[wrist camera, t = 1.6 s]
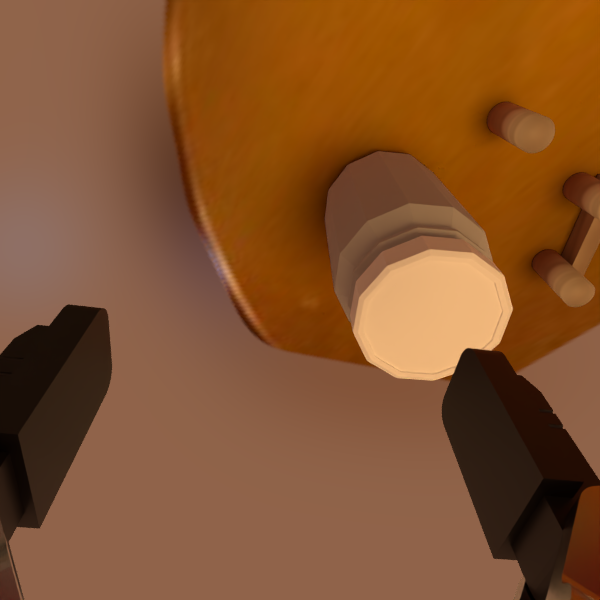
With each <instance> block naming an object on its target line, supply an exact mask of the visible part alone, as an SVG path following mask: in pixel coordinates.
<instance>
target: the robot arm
mask: <svg viewBox="0 0 600 600" xmlns="http://www.w3.org/2000/svg"><path fill="white" fill-rule="evenodd" d="M111 373H112V359H111V347H110V334H109V321H108V314H107V311H106V309H104V308H95V307H86V306H77V305H66V306H65V307H64V308H63V309H62V310H61V312H60V313H59V314H58V316H57V317H56V318H55V319H54V320H53V322H52V323H51V324H50V326H43V325H37V326H35V327H33V328H31V329H30V330H28V331H26V332H24V333H23V334H21V335H19V336H18V337H16V338H14V339H13V341H12V342H11V343H10V344H9V345H8V346H7V347H6V349H5V350H4V351H3V352H2V353H1V355H0V600H24V597H23V593H22V589H21V585H20V582H19V578H18V574H17V571H16V567H15V564H14V560H13V556H12V553H11V549H10V545H9V540H10V538H11V537H12V535H13V533H14V531H15V529H16V527H27V528H40V526H41V525H42V523H43V521H44V519H45V516H46V515H47V512H48V510H49V508H50V506H51V504H52V502H53V500H54V498H55V496H56V494H57V492H58V490H59V488H60V486H61V484H62V482H63V480H64V478H65V476H66V474H67V472H68V470H69V468H70V466H71V464H72V462H73V460H74V458H75V456H76V454H77V452H78V450H79V447H80V446H81V444H82V441H83V440H84V438H85V435H86V434H87V432H88V430H89V427H90V425H91V423H92V421H93V419H94V417H95V415H96V413H97V411H98V409H99V407H100V405H101V403H102V401H103V399H104V397H105V395H106V393H107V390H108V387H109V384H110V380H111ZM442 420H443V424H444V427H445V430H446V432H447V435H448V437H449V440H450V443H451V445H452V448H453V451H454V453H455V456H456V459H457V462H458V464H459V467H460V469H461V472H462V475H463V478H464V480H465V483H466V486H467V488H468V491H469V494H470V496H471V499H472V502H473V505H474V507H475V510H476V513H477V515H478V518H479V521H480V523H481V526H482V529H483V531H484V534H485V536H486V539H487V542H488V545H489V547H490V550H491V553H492V555H493V558H494V559H508V560H517V561H518V563H519V566H520V568H521V570H522V573H523V575H524V576H523V577H522V579H521V580H520V582H519V585H518V588H517V591H516V594H515V597H514V600H600V480H599V479H598V477H597V476H596V475H595V473H594V471H593V470H592V468H591V467H590V466H589V464H588V462H587V461H586V459H585V458H584V456H583V455H582V453H581V452H580V450H579V449H578V447H577V446H576V444H575V443H574V441H573V440H572V438H571V437H570V435H569V434H568V432H567V431H566V430H565V429H563V425H562V423H561V422H560V420H559V419H558V417H557V416H556V414H553V410H552V408H551V407H550V405H549V404H548V402H547V401H546V399H545V398H544V396H543V395H542V393H541V392H540V391H539V390H538V389H537V388H536V387H534V386H533V385H532V384H531V383H530V382H529V381H527V380H526V379H525V378H524V377H523V376H520V375H517V374H516V373H515V371H514V369H513V368H512V366H511V365H510V363H509V362H508V360H507V358H506V357H505V355H504V354H503V353H502V352H500V351H491V350H482V349H473V348H467V349H465V350H464V351H463V352H462V354H461V356H460V359H459V361H458V364H457V366H456V368H455V371H454V373H453V376H452V378H451V381H450V383H449V386H448V388H447V391H446V393H445V396H444V399H443V404H442Z"/></svg>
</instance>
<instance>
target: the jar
mask: <svg viewBox="0 0 600 600" xmlns="http://www.w3.org/2000/svg"><path fill="white" fill-rule="evenodd" d="M325 226H326V233H327V240H328V248H329V255H330V263H331V270H332V277H333V285H334V291H335V293H336V295H337V297H338V299H339V301H340V303H341V305H342V307H343V309H344V312H345V314H346V316H347V318H348V320H349V321H350V322H351V324H352V330H353V333H354V335H355V337H356V339H357V341H358V343H359V345H360V347H361V349H362V352H363V354H364V356H365V358H366V360H367V361H368V362H370V363H372V364H373V365H375V366H377V367H379V368H380V369H382V370H384V371H385V372H387V373H389V374H390V375H392V376H394V377H396V378H404V379H418V380H432V381H434V380H437V379H440V378H443V377H446V376H449V375H452V374H453V373H454V371H455V368H456V366H457V364H458V361H459V359H460V356H461V354H462V352H463V351H464V350H465V349H467V348H473V349H482V350H492V349H493V348H494V347H496V346H497V345H498V344H499V343H500V341H501V338H502V336H503V333H504V331H505V328H506V326H507V323H508V320H509V318H510V315H511V313H512V310H513V308H512V304H511V300H510V296H509V293H508V289H507V285H506V281H505V278H504V275H503V274H502V273H501V271H500V270H499V269H498V268H497V267H496V265H495V264H494V263H493V260H492V257H491V253H490V249H489V246H488V242H487V238H486V235H485V231H484V230H483V229H482V228H481V227H480V226H479V224H478V223H477V222H476V221H475V220H474V219H473V218H472V216H471V215H470V214H469V213H468V212H467V211H466V210H465V208H464V207H463V206H462V205H461V204H460V203H459V202H458V201H457V199H456V198H455V197H454V196H453V195H452V194H451V193H450V191H449V190H448V189H447V188H446V187H445V186H444V185H443V183H442V182H441V181H440V180H439V179H438V178H437V177H436V175H435V174H434V173H433V172H432V171H430V170H429V169H428V168H426V167H425V166H424V165H423V164H421V163H420V162H419V161H418V160H416V159H415V158H414V157H413V156H411V155H410V154H403V153H392V152H382V151H377V152H375V153H372V154H370V155H368V156H366V157H364V158H361V159H359V160H357V161H355V162H352V163H350V164H348V165H347V166H346V167H345V169H344V170H343V171H342V173H341V174H340V175H339V177H338V178H337V179H336V181H335V182H334V183H333V185H332V186H331V187H330V189H329V190H328V197H327V205H326V213H325Z"/></svg>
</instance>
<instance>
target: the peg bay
mask: <svg viewBox="0 0 600 600" xmlns="http://www.w3.org/2000/svg"><path fill="white" fill-rule="evenodd" d="M487 125H488V128H489V130H490V131H491V132H492V133H494V134H496V135H498V136H499V137H501V138H503V139H504V140H506V141H508V142H509V143H511V144H513V145H515V146H516V147H518V148H520V149H521V150H523V151H525V152H527V153H537V152H540V151H542V150H543V149H545V148H546V147H547V146H548V145H549V144H550V143H551V141H552V140H553V137H554V134H555V126H554V123H553V121H552V120H551V119H550V118H548V117H546V116H543V115H541V114H538V113H536V112H533V111H530V110H528V109H525V108H523V107H520V106H518V105H515V104H513V103H510V102H502V103H499V104H497V105H496V106H495V107H494V108H493V109H492V110H491V111H490V113H489V115H488V118H487ZM563 194H564V196H565V197H566V198H567V199H568V200H570V201H571V202H573V203H574V204H576V205H577V206H579V207H580V208H582V210H581V213H580V215H579V217H578V219H577V222H576V224H575V226H574V228H573V231H572V233H571V235H570V237H569V239H568V242H567V244H566V246H565V248H564V251H563V253H562V255H559V254H558V253H557V252H556V251H554V250H551V249H547V250H543V251H541V252H539V253H538V254H537V255H536V256H535V257H534V259H533V261H532V267H533V269H534V270H535V271H536V272H537V273H538V274H539V276H540V277H541V278H542V279H543V280H544V281H545V282H546V283H547V284H548V285H549V286H550V287H551V288H552V289H553V290H554V291H555V293H556V294H557V295H558V296H559V297H560V298H561V299H562V300H563V301H564V302H565V303H566V304H567V305H568V306H571V307H579V306H582V305H585V304H586V303H588V302H589V301H590V300H591V299H592V298H593V296H594V293H595V288H594V286H593V284H592V283H590V282H589V281H588V280H587V279H586V278H585V277H584V274H585V272H586V270H587V268H588V265H589V263H590V261H591V259H592V257H593V255H594V253H595V251H596V249H597V247H598V245H599V243H600V174H598V175H597V177H596V178H595V177H593V176H591V175H589V174H587V173H577V174H574V175H572V176H571V177H570V178H569V179H568V180H567V181H566V182H565V184H564V187H563Z"/></svg>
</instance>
